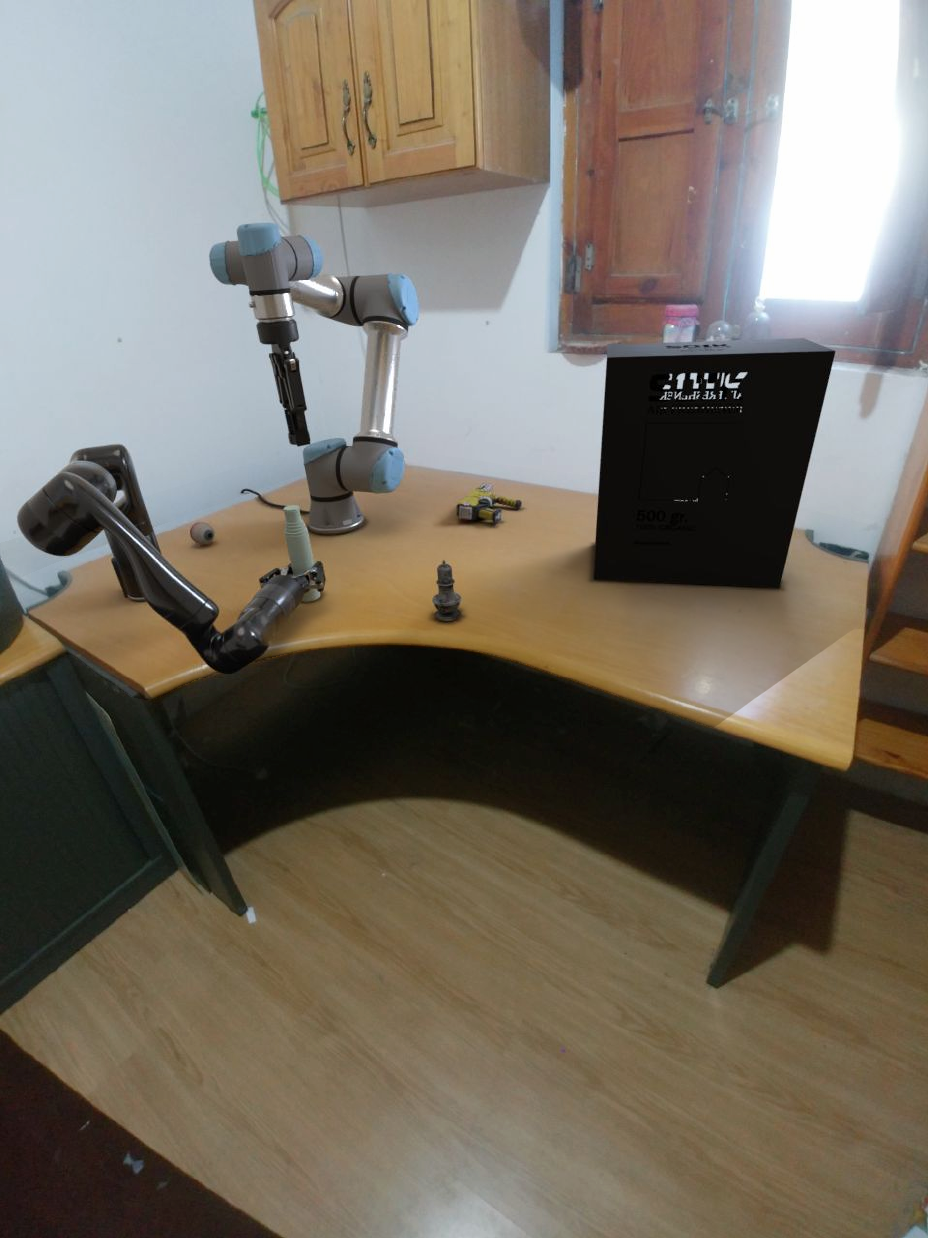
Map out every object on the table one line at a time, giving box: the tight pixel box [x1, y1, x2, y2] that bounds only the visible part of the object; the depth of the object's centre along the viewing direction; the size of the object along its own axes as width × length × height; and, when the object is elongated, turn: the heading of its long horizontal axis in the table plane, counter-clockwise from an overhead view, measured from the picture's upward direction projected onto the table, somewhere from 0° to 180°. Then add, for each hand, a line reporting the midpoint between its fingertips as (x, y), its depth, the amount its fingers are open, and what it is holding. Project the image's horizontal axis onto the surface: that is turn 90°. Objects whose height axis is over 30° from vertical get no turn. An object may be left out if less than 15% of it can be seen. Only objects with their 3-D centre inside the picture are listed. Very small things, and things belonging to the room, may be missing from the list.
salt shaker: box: [431, 560, 462, 622], centre depth 119 cm, size 6×6×12 cm
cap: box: [287, 430, 311, 446], centre depth 127 cm, size 4×4×2 cm
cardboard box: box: [592, 337, 836, 589], centre depth 125 cm, size 38×20×45 cm, turn 78°
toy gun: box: [455, 482, 523, 525], centre depth 172 cm, size 5×24×15 cm
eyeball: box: [189, 521, 215, 546], centre depth 160 cm, size 6×6×6 cm
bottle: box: [282, 504, 321, 603], centre depth 127 cm, size 5×5×20 cm
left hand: (308, 564), depth 131 cm, fingers closed on bottle, 4 cm apart
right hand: (300, 442), depth 127 cm, fingers closed on cap, 4 cm apart
